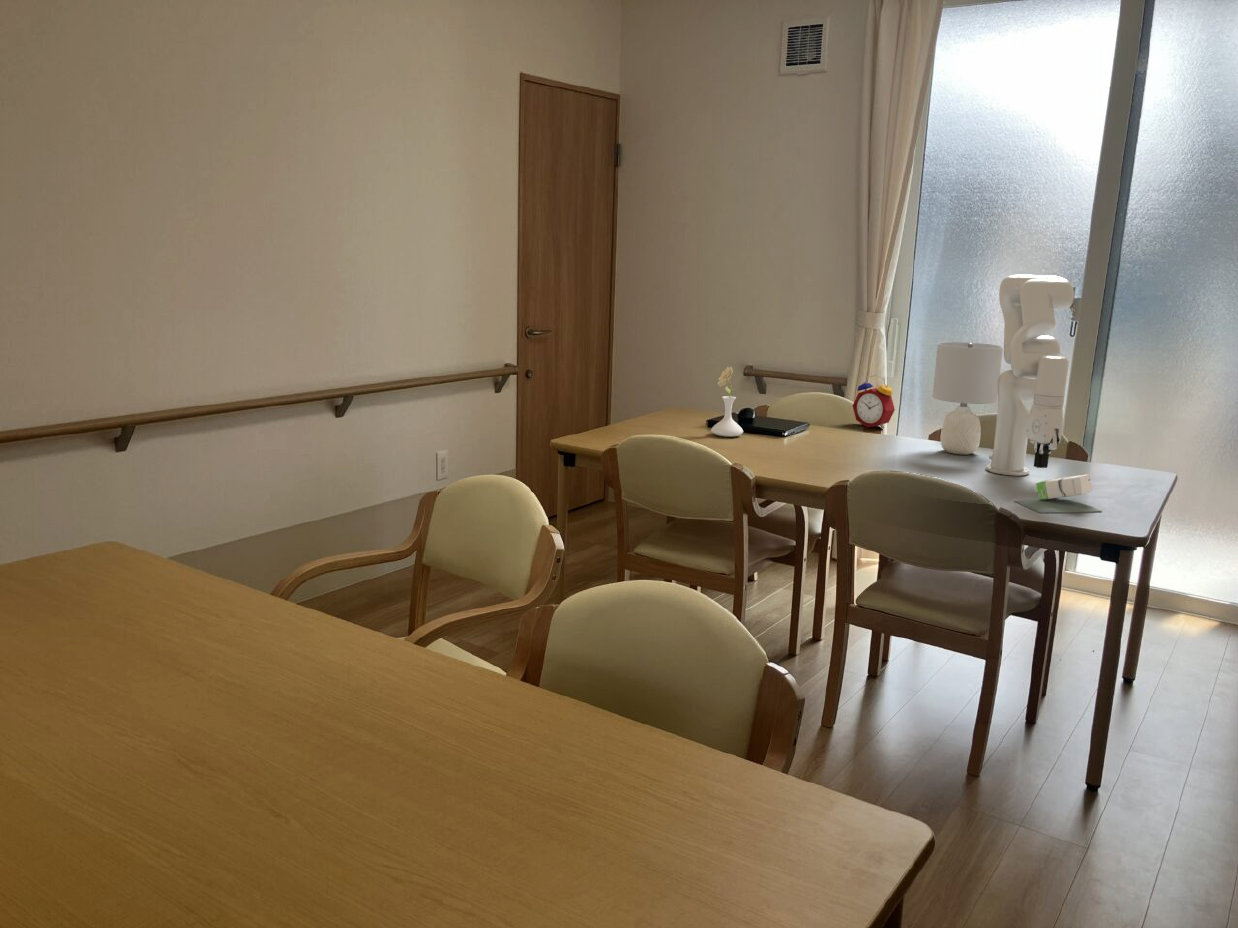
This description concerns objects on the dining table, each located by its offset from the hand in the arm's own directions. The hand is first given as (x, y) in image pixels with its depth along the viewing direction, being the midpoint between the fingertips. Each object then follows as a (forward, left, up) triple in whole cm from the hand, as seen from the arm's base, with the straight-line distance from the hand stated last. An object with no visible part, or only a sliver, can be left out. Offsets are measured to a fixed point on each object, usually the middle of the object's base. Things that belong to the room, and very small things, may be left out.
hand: (1040, 467), depth 274 cm
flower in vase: (-91, -63, -9) cm, 111 cm away
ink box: (+1, +1, -6) cm, 6 cm away
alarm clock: (-108, 0, -9) cm, 108 cm away
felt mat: (+9, 0, -9) cm, 13 cm away
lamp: (-60, +9, -9) cm, 61 cm away
